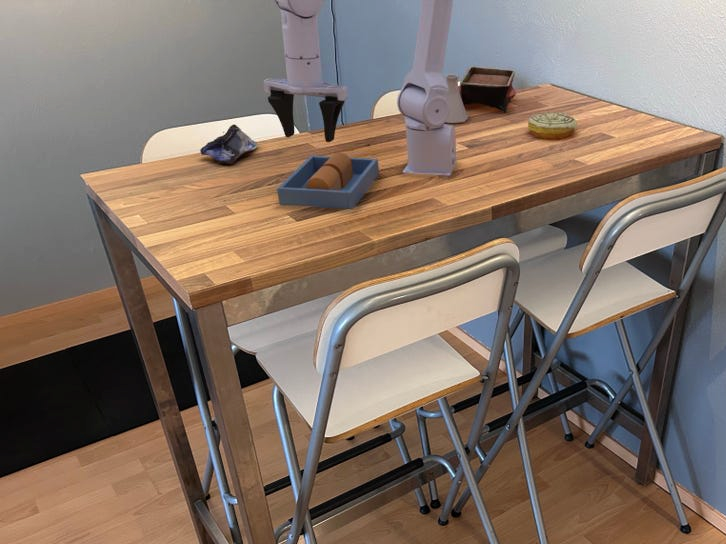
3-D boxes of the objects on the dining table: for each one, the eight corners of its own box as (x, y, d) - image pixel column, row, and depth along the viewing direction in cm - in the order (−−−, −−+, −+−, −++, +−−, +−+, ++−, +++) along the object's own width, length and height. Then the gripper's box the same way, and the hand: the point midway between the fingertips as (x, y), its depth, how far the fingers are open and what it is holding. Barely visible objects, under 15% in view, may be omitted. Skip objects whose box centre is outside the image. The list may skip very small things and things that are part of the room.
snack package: (272, 158, 154) (253, 141, 161) (262, 129, 149) (243, 113, 157) (217, 179, 150) (201, 161, 157) (205, 150, 145) (189, 132, 153)
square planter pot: (521, 106, 190) (520, 64, 186) (508, 115, 174) (507, 69, 170) (467, 107, 193) (465, 66, 189) (449, 116, 178) (447, 71, 173)
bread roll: (341, 190, 137) (338, 166, 135) (331, 203, 132) (328, 178, 130) (319, 189, 138) (315, 165, 135) (307, 201, 133) (304, 177, 130)
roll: (353, 176, 143) (350, 153, 140) (343, 187, 138) (341, 164, 136) (331, 175, 144) (328, 151, 141) (321, 186, 139) (318, 162, 136)
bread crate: (379, 176, 144) (377, 158, 142) (353, 212, 130) (350, 192, 128) (312, 173, 146) (310, 155, 144) (279, 207, 132) (276, 188, 130)
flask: (467, 124, 171) (467, 79, 166) (436, 124, 172) (435, 79, 166) (468, 114, 177) (468, 71, 172) (438, 115, 178) (437, 71, 172)
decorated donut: (585, 135, 164) (587, 118, 162) (547, 144, 160) (548, 126, 157) (556, 123, 172) (557, 106, 169) (519, 131, 167) (519, 114, 164)
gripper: (250, 56, 120) (260, 139, 128) (333, 64, 118) (338, 149, 125) (271, 48, 126) (280, 129, 134) (350, 56, 123) (355, 138, 131)
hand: (309, 138), depth 130 cm, fingers open, 7 cm apart
